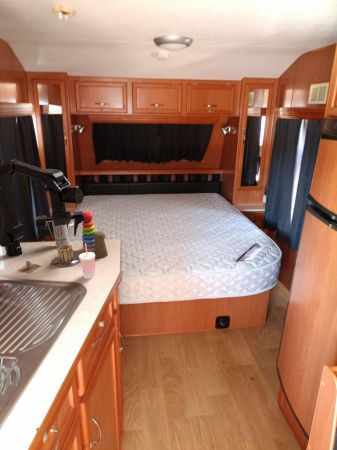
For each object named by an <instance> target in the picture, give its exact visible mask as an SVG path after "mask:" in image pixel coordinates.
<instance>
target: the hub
mask: <svg viewBox="0 0 337 450" xmlns="http://www.w3.org/2000/svg"><path fill="white" fill-rule="evenodd" d="M79 255H80V254H78V253H73V257H74V261H72V262H70V263H67V264H62V263H60V262H59V257H58V255H57V256H56V257H53V259H51V260H50V265H51V266H52V267H54V268H58V269H59V268H60V269H61V268H62V269H64V268H65V269H67V268H71V267H74V266H76V265H78V264H79V263H80V264H81V261H80V259H79Z"/></svg>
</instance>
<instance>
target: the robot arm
mask: <svg viewBox="0 0 337 450" xmlns="http://www.w3.org/2000/svg"><path fill="white" fill-rule="evenodd" d="M16 173H17V174H20V175H24V176H27V177H30V178H33V179H36V180H38V181H39V182H40V184H42V185H44V186H45V188H44V189H43V192H45V193H47V192H48V197H49V198H48V199H49V203H50V210H51V216H49V217H47V215H46V214H45V215H44V214H43V215H37V216H36V217H35V226H36V228H38V227H39V228H40V229H44V231H45V232H46V233H47V235H48V236H49V238H50V239H51V240H52V241H53V235H52V234H53V233H52V231H51V228H50V223H52V222H54V226H58V225H67V224H68V223H67V222H69V221H71V220H73V235H74V237H76V236H77V232H78V227H79V225H80V224H82V222H83V221H85V219H84V213H83V212H84V211H83V210H81V211H80V210H79V211H73V214H71V211H68V209H67V205H66V204H71V205H72V204H74V205H81V204H82V203H83V200H84V192H83V191H82V189H80V186H79V185H76V186H75V185H74V186H73V185H72V184H71V182H70V181H69V180H68V178H66V176H65V175H64V173H63V171H62V170H61V169H53V168H43V167H39V166H36V165H32V164H30V163H27V162H24V161H21V160H19V159H13V160H8V161H7V162H6V163H4V164H3V165H1V166H0V207H1V208H0V209H1V212H2V217H3V220H4V224H3V227H2V237H1V238H0V247H3V248H4V250H5V254H6V255H7V257H10V258H12V257H19V256H21V255H23V253H24V252H23V249H22V246H21V243H20V242H21V241H23V238H24V236H25V232H26V230H25V227H24V223H20V221H18V218H17V214H16V213H17V212H16V207H15V203H14V200H13V199H14V198H13V195H12V194H13V193H12V189H11V188H12V185H13V183H14V182H13V181H14V179H13V177H14V175H15V174H16Z"/></svg>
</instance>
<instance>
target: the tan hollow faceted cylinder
mask: <svg viewBox="0 0 337 450" xmlns="http://www.w3.org/2000/svg"><path fill="white" fill-rule="evenodd" d="M56 251H57V256H58V257H59V262H60V263H62V264H67V263H70V262H72V261H74V257H73V254H74V250H73V245H71V244H69V245H62V246H60V247H58V246H57V249H56Z"/></svg>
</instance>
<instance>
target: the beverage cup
mask: <svg viewBox="0 0 337 450" xmlns="http://www.w3.org/2000/svg"><path fill="white" fill-rule="evenodd" d="M85 248H86V251H84V252H83V253H80V254H78V255H79V259H80V261H81V262H80V266H81V271H82V274H83V275H82V276H83V278H84V279H86V278H90V279H93V278H95V277H96V261H95V260H96V259H95V257H96V255H95V253H94V251H93V252H87V246H86V243H85Z"/></svg>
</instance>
